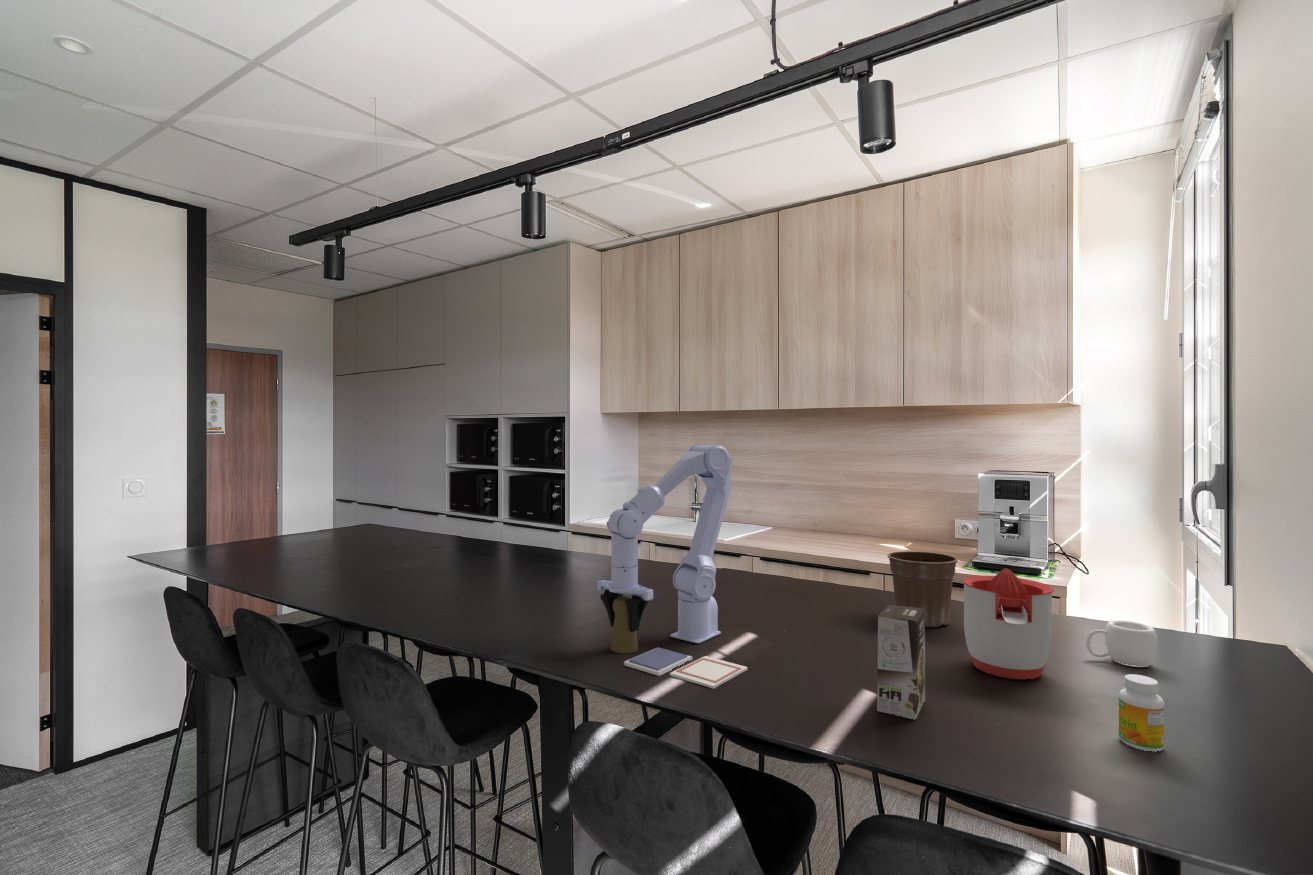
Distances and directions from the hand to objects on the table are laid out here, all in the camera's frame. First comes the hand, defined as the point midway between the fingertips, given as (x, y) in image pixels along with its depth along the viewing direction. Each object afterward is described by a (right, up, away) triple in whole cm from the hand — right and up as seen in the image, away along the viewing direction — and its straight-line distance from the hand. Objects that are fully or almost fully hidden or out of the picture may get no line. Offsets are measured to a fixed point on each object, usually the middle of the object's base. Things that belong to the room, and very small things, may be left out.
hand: (624, 627), depth 135 cm
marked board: (+17, -4, -14) cm, 22 cm away
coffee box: (+49, -5, -29) cm, 57 cm away
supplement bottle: (+79, -5, -42) cm, 90 cm away
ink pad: (+7, -4, -8) cm, 12 cm away
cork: (0, -5, 0) cm, 5 cm away
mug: (+101, -5, -8) cm, 102 cm away
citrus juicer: (+75, -5, -13) cm, 77 cm away
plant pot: (+73, -5, +21) cm, 76 cm away
